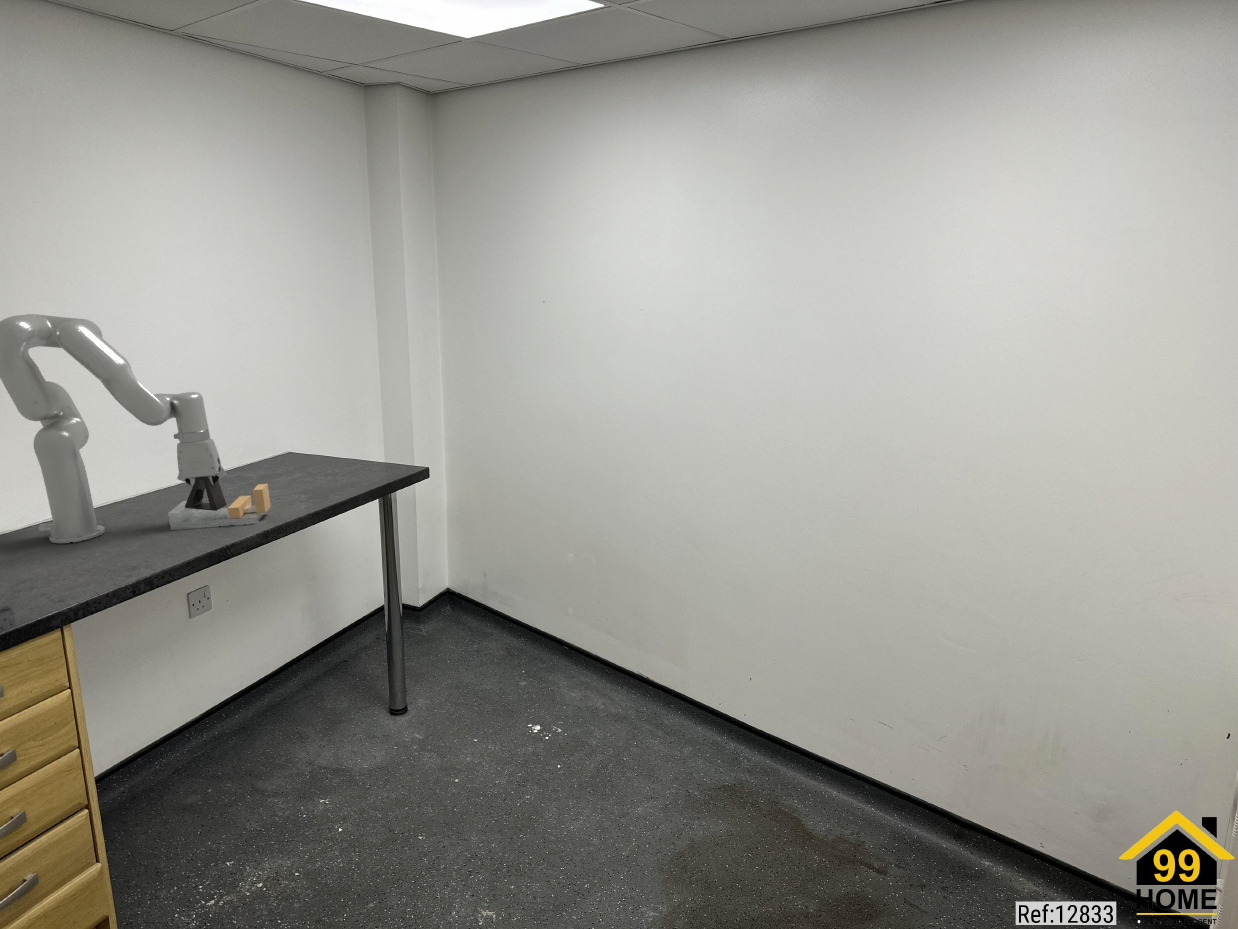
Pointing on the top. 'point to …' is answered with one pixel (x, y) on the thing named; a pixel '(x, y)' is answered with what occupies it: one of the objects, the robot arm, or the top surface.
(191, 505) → the black triangular frame
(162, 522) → the top surface
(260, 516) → the grey base plate
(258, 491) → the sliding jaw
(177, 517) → the fixed jaw
